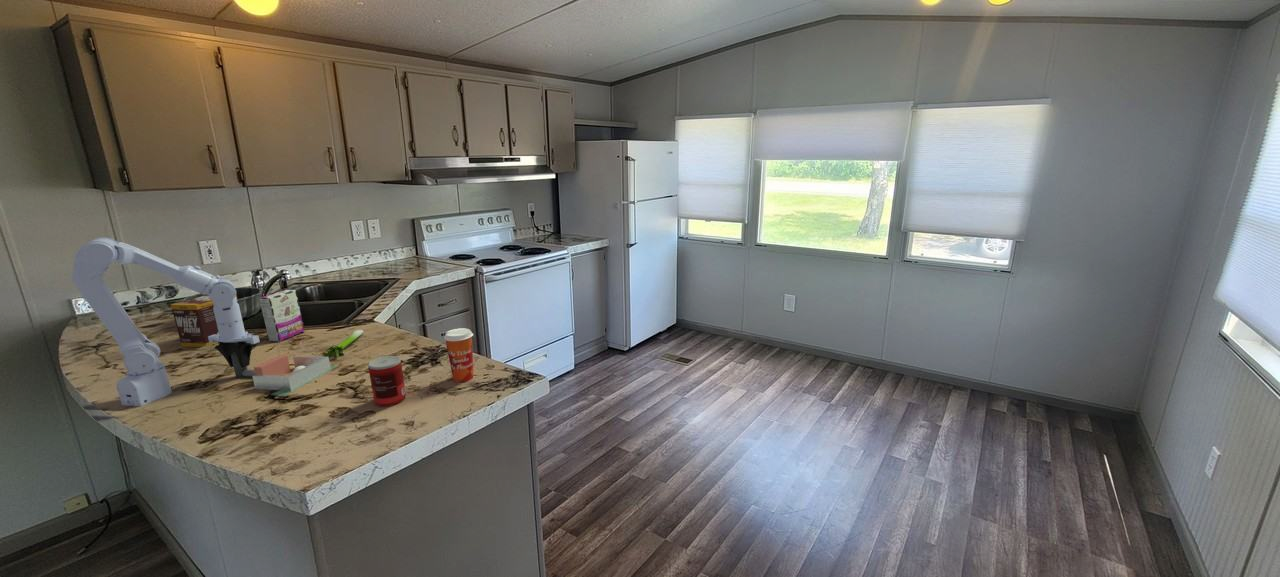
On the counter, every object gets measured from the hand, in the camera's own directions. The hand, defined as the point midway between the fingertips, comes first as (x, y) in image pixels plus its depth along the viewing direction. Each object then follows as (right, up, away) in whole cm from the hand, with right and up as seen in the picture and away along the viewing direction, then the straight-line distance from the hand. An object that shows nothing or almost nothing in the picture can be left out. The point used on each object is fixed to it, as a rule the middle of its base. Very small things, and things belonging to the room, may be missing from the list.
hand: (240, 365), depth 148 cm
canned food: (+50, -7, -14) cm, 53 cm away
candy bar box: (-13, +5, +38) cm, 41 cm away
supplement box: (-38, +4, +37) cm, 53 cm away
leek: (+16, +2, +25) cm, 30 cm away
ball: (+19, -2, -2) cm, 19 cm away
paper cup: (+65, -3, -1) cm, 66 cm away
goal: (+16, -3, -1) cm, 17 cm away
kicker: (+5, -3, 0) cm, 6 cm away
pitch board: (+6, -4, 0) cm, 7 cm away
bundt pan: (-55, +10, +64) cm, 84 cm away
